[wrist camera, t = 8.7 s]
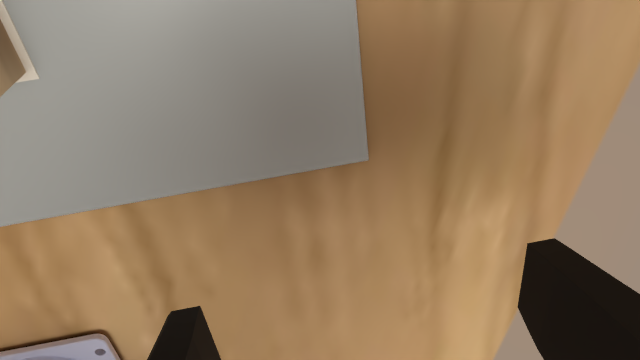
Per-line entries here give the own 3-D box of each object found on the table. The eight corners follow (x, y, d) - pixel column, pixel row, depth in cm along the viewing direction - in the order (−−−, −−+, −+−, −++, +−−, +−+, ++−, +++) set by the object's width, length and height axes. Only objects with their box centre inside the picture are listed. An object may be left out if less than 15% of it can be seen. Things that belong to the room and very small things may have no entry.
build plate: (365, 153, 21) (369, 160, 20) (-108, 238, 20) (-118, 248, 19) (328, -291, 13) (332, -297, 12) (-453, -182, 12) (-486, -184, 12)
